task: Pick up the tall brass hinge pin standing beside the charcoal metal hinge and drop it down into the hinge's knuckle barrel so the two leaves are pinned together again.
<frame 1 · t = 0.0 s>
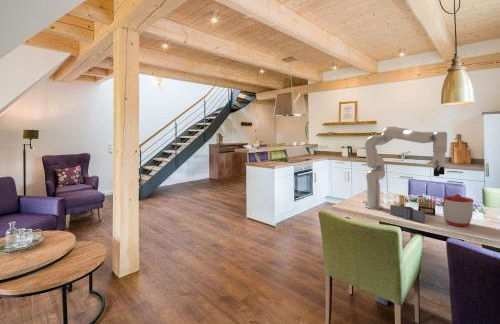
hand: (438, 175, 175), 31 cm above the table, tool pointing down, fingers open, 9 cm apart
hinge: (407, 218, 183), on the table
hinge pin: (401, 213, 193), on the table
ammunition clip: (426, 214, 192), on the table
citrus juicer: (455, 223, 169), on the table
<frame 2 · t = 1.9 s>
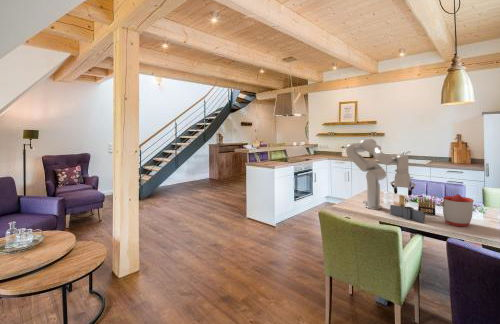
hand: (402, 194, 191), 15 cm above the table, tool pointing down, fingers open, 9 cm apart
nothing on the table moved.
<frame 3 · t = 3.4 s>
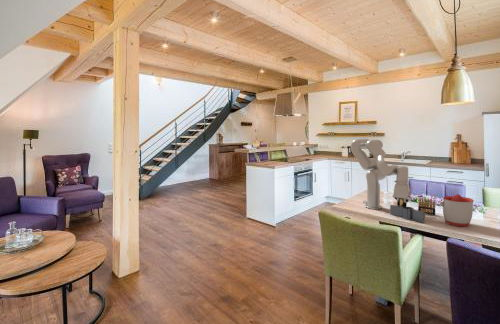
hand: (401, 206, 193), 6 cm above the table, tool pointing down, fingers closed on hinge pin, 3 cm apart
hinge pin: (401, 213, 193), on the table, touching gripper
everything else where it was.
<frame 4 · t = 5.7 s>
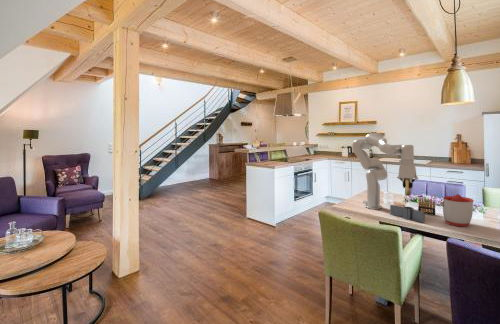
hand: (407, 187, 183), 22 cm above the table, tool pointing down, fingers closed on hinge pin, 3 cm apart
hinge pin: (407, 195, 184), point 16 cm above the table, touching gripper
everything else where it was.
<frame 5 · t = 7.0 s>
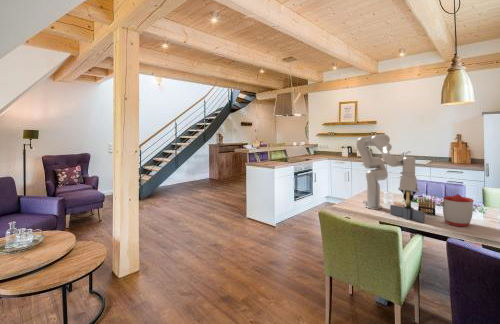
hand: (408, 199, 182), 14 cm above the table, tool pointing down, fingers closed on hinge pin, 3 cm apart
hinge pin: (408, 207, 183), point 8 cm above the table, touching gripper
everything else where it was.
when the fingers open (9 cm above the table, at t = 8.1 s): hinge pin drops 3 cm, resting in hinge.
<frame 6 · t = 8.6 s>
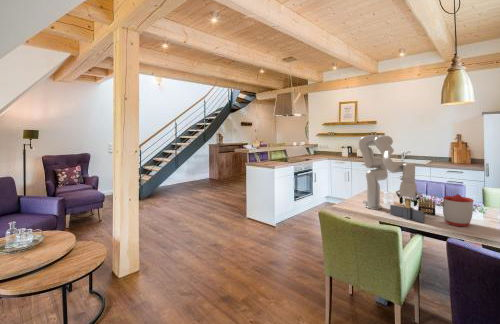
hand: (408, 204, 183), 10 cm above the table, tool pointing down, fingers open, 8 cm apart
hinge pin: (407, 218, 184), resting in hinge
everything else where it was.
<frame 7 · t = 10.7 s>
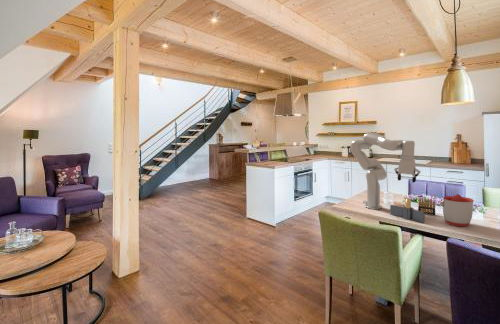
hand: (406, 181, 186), 26 cm above the table, tool pointing down, fingers open, 9 cm apart
nothing on the table moved.
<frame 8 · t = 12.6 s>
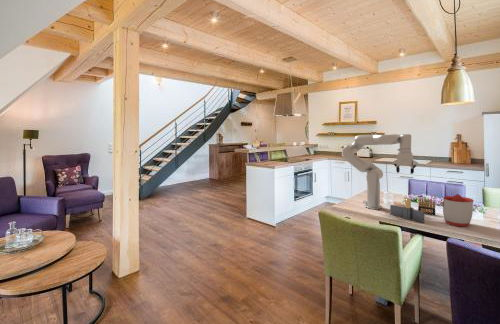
hand: (404, 173, 195), 30 cm above the table, tool pointing down, fingers open, 9 cm apart
nothing on the table moved.
at the end: hinge pin 0.0 cm off-centre on the hinge, point 0.0 cm above the hinge's base; hinge pin tilted 0°; the gripper is holding nothing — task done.
